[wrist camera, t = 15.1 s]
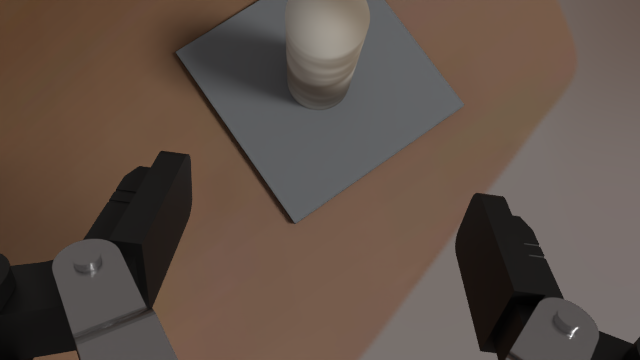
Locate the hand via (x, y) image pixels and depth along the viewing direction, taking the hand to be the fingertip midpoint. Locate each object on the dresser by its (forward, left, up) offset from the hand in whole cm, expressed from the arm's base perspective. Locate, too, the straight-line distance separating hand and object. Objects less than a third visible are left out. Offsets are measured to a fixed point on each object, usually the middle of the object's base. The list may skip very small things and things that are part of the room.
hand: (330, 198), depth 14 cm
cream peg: (+7, +9, -22) cm, 25 cm away
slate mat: (+8, +9, -22) cm, 25 cm away
